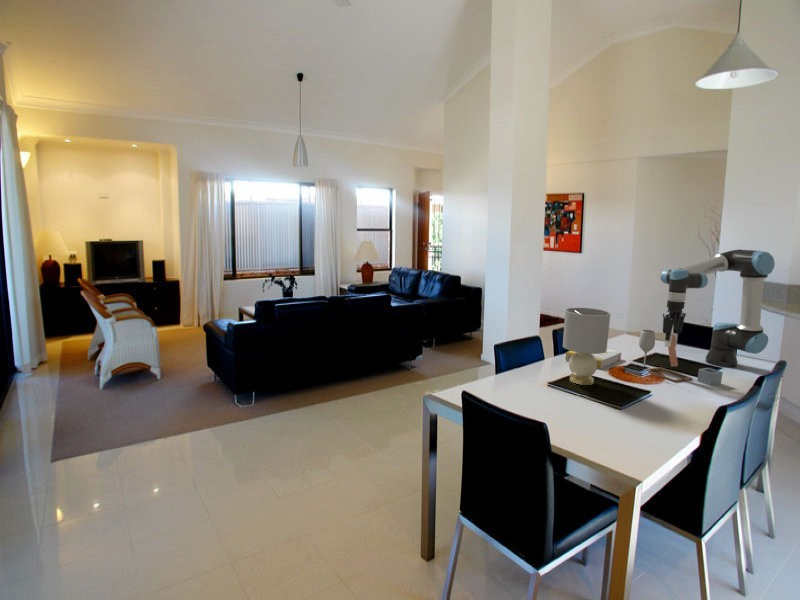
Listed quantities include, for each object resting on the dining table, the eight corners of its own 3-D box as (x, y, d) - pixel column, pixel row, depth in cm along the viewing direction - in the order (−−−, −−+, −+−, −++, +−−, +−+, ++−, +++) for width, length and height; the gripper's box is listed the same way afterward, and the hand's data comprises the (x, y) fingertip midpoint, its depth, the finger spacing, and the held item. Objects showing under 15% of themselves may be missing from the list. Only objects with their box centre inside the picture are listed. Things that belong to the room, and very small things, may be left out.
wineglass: (653, 371, 257) (658, 333, 254) (638, 370, 259) (642, 332, 255) (649, 367, 265) (653, 329, 261) (634, 366, 266) (638, 328, 262)
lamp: (609, 382, 239) (616, 311, 233) (593, 392, 224) (600, 317, 218) (570, 372, 252) (575, 306, 246) (552, 381, 238) (558, 311, 232)
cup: (706, 382, 242) (708, 367, 241) (720, 386, 236) (722, 372, 234) (696, 383, 239) (698, 369, 238) (710, 388, 233) (712, 373, 232)
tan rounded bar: (679, 367, 242) (682, 335, 240) (674, 368, 241) (678, 336, 239) (665, 363, 249) (669, 332, 247) (661, 364, 248) (664, 332, 246)
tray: (660, 371, 258) (660, 367, 258) (691, 382, 242) (692, 377, 241) (643, 373, 254) (643, 369, 253) (674, 384, 237) (674, 380, 237)
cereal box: (565, 351, 273) (587, 343, 292) (564, 361, 274) (586, 352, 293) (601, 360, 259) (622, 351, 278) (600, 370, 260) (620, 360, 280)
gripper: (681, 298, 247) (675, 343, 251) (657, 299, 241) (652, 345, 245) (694, 301, 240) (688, 347, 244) (670, 302, 234) (665, 349, 238)
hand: (670, 346), depth 245 cm, fingers closed on tan rounded bar, 3 cm apart
